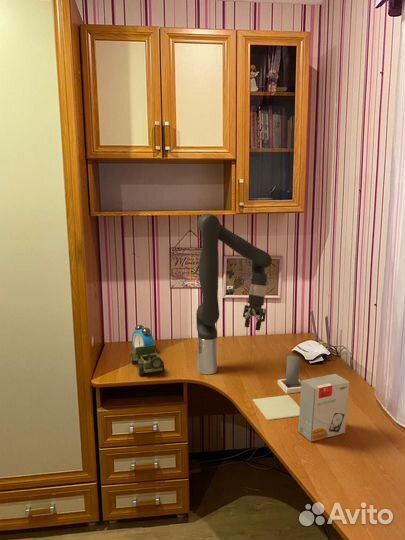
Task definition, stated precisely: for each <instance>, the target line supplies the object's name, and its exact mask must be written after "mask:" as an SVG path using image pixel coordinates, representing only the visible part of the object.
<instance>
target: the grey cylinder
mask: <svg viewBox="0 0 405 540" xmlns="http://www.w3.org/2000/svg"><path fill="white" fill-rule="evenodd" d="M300 360H301V359H300V357H299V356H298V355H295V354H293V355H292V354H291V355H290V354H289V355H287V356H286V371H285V373H286V374H285V379H286V384H285V385H286V386H287V388H292V387H299V380H300Z"/></svg>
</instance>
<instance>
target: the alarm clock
mask: <svg viewBox="0 0 405 540" xmlns="http://www.w3.org/2000/svg"><path fill="white" fill-rule="evenodd" d="M154 341H155V340H154V336H153V334H152V332H151V329H150V328H149V327H144V325H142V324H137V325H136V326H135V328H134V331H133V333H132V336H131V343H132V346H133V349H134V348H136V347H141V346H151V345H155V342H154Z"/></svg>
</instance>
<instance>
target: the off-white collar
mask: <svg viewBox="0 0 405 540" xmlns="http://www.w3.org/2000/svg"><path fill="white" fill-rule="evenodd" d="M301 381H302V380H300V379H299V385H298V387H292V388H287V386H286V378H282V379H277V385H278V386H279V387H280V388H281V390H283V392H284V393H286V395H288V394H294V393H295V394H297V393H301Z"/></svg>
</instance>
